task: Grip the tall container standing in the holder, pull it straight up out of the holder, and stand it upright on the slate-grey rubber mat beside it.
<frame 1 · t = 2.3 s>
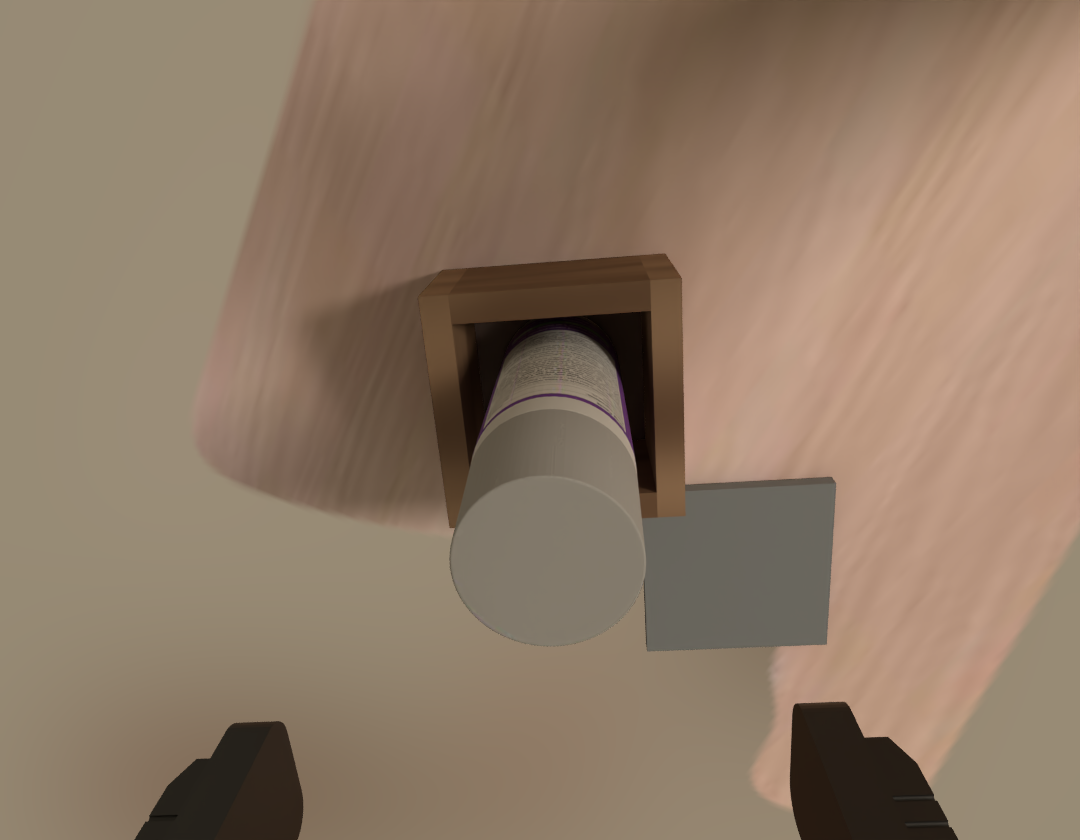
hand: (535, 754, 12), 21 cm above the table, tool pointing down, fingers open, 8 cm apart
holder: (560, 368, 31), on the table
mat: (734, 564, 34), on the table
container: (560, 367, 32), resting in holder
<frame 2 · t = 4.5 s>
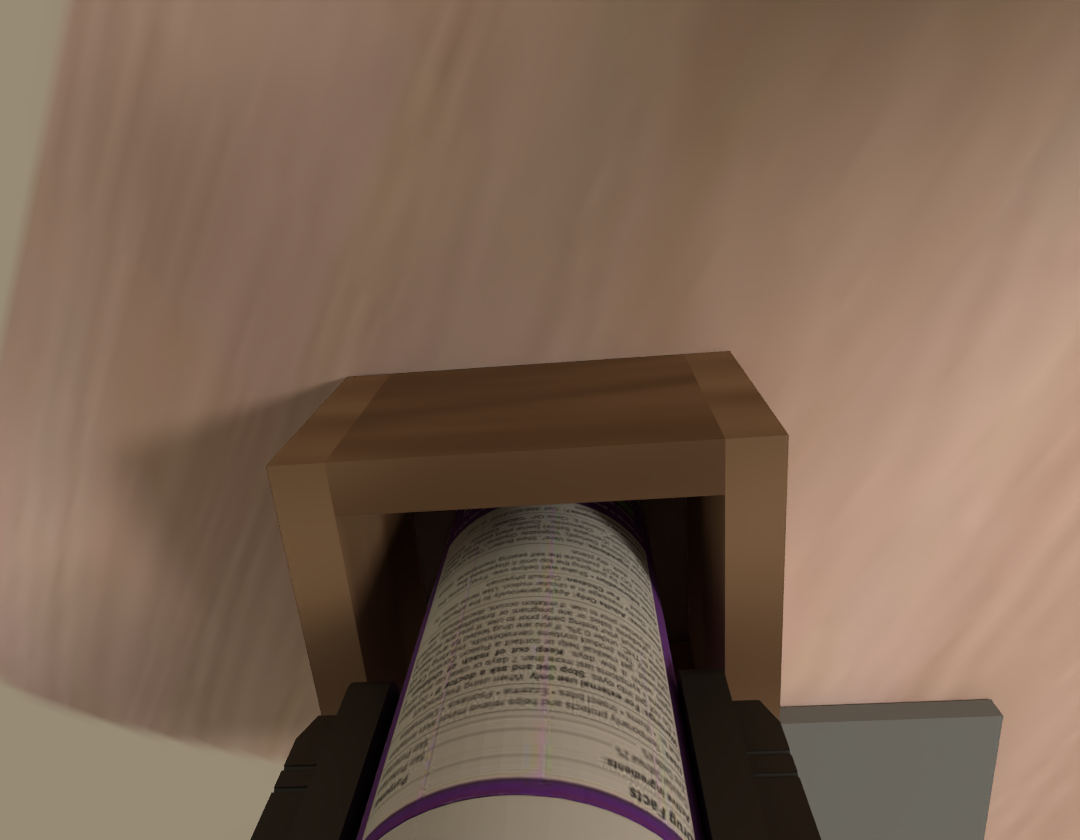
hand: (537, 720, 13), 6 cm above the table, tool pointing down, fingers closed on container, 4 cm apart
holder: (550, 533, 19), on the table
mat: (825, 820, 22), on the table
container: (550, 529, 19), resting in holder, touching gripper
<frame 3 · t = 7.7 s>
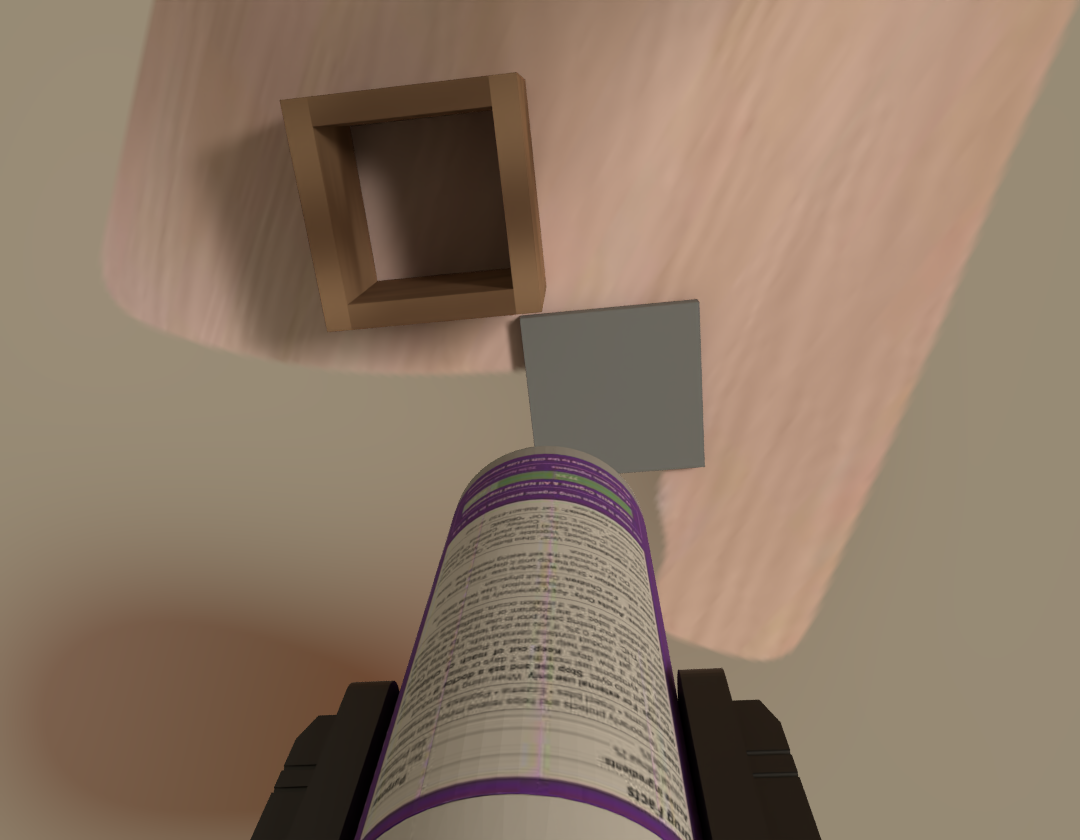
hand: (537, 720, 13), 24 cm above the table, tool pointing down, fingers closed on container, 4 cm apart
holder: (438, 198, 34), on the table
mat: (614, 390, 37), on the table
container: (549, 529, 19), point 18 cm above the table, touching gripper
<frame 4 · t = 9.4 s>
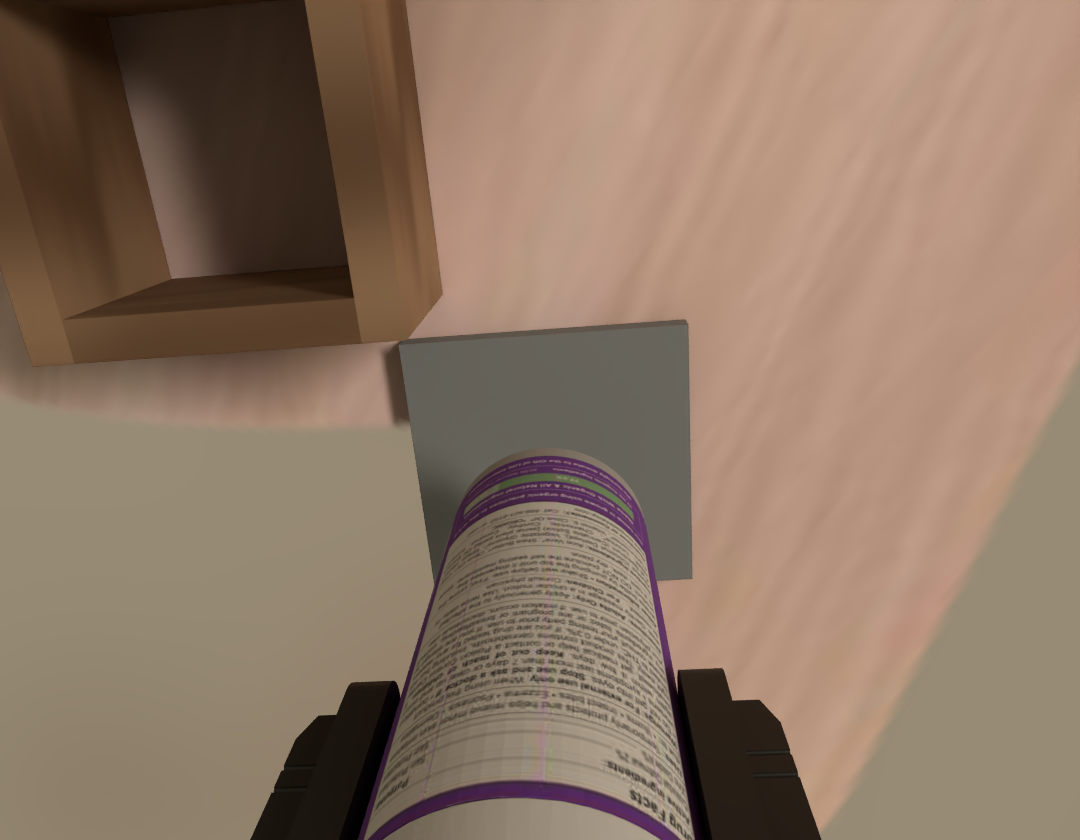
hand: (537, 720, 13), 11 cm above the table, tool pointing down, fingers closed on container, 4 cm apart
holder: (260, 144, 20), on the table
mat: (553, 459, 23), on the table
container: (550, 531, 19), point 4 cm above the table, touching gripper
when the fingers open (8 cm above the table, at t = 10.8 s): container drops 1 cm, resting on mat.
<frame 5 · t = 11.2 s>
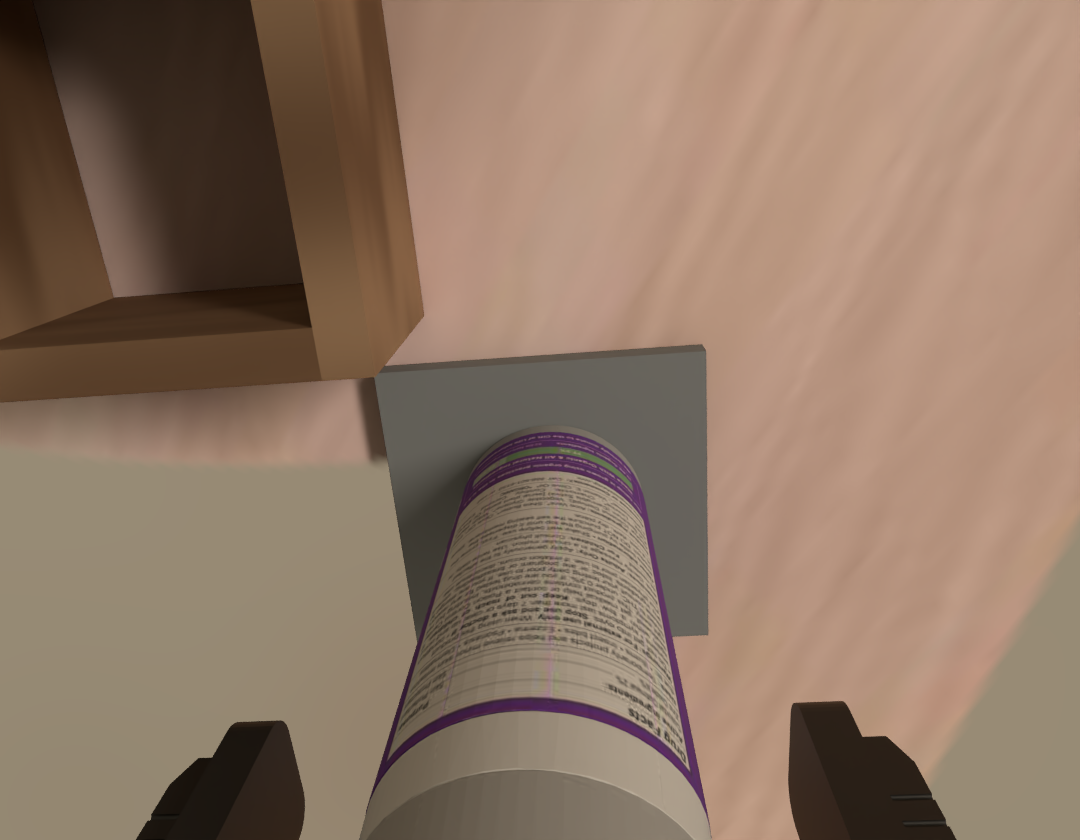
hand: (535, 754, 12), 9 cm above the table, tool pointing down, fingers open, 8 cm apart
holder: (213, 144, 18), on the table
mat: (550, 501, 21), on the table
container: (553, 505, 20), resting on mat
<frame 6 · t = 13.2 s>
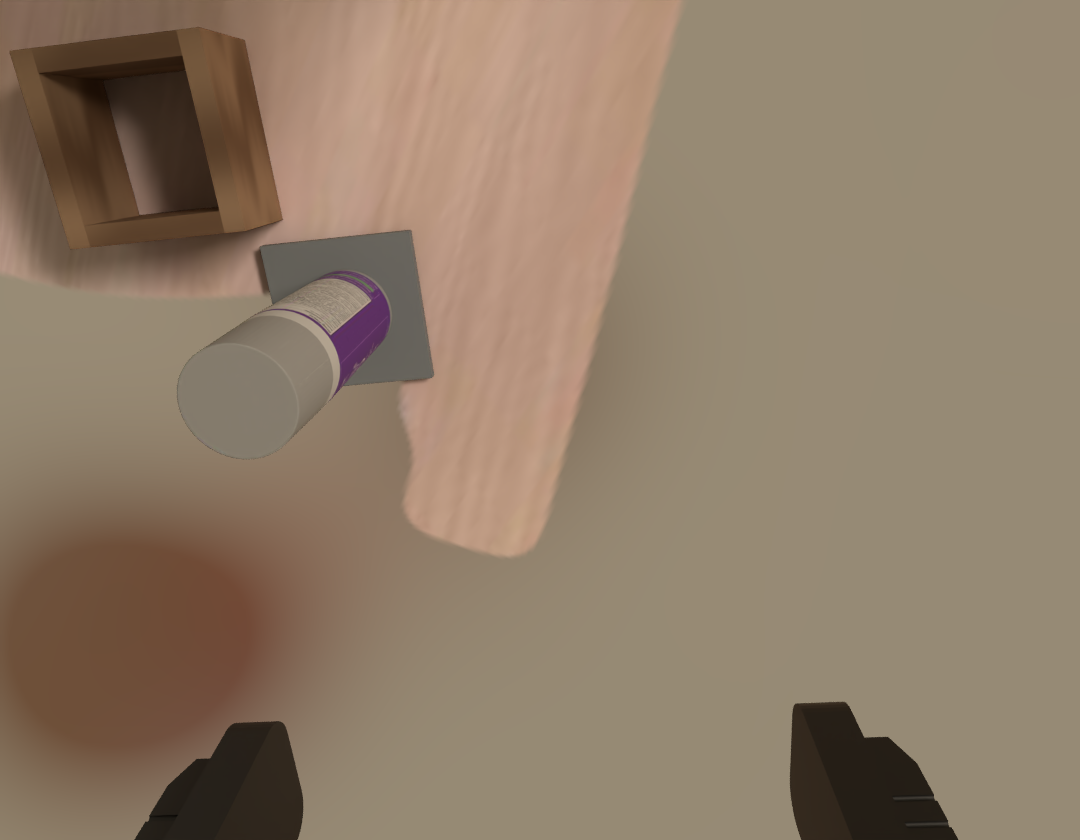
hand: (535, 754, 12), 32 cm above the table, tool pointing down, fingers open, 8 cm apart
holder: (183, 142, 40), on the table
mat: (351, 311, 43), on the table
container: (350, 311, 42), resting on mat
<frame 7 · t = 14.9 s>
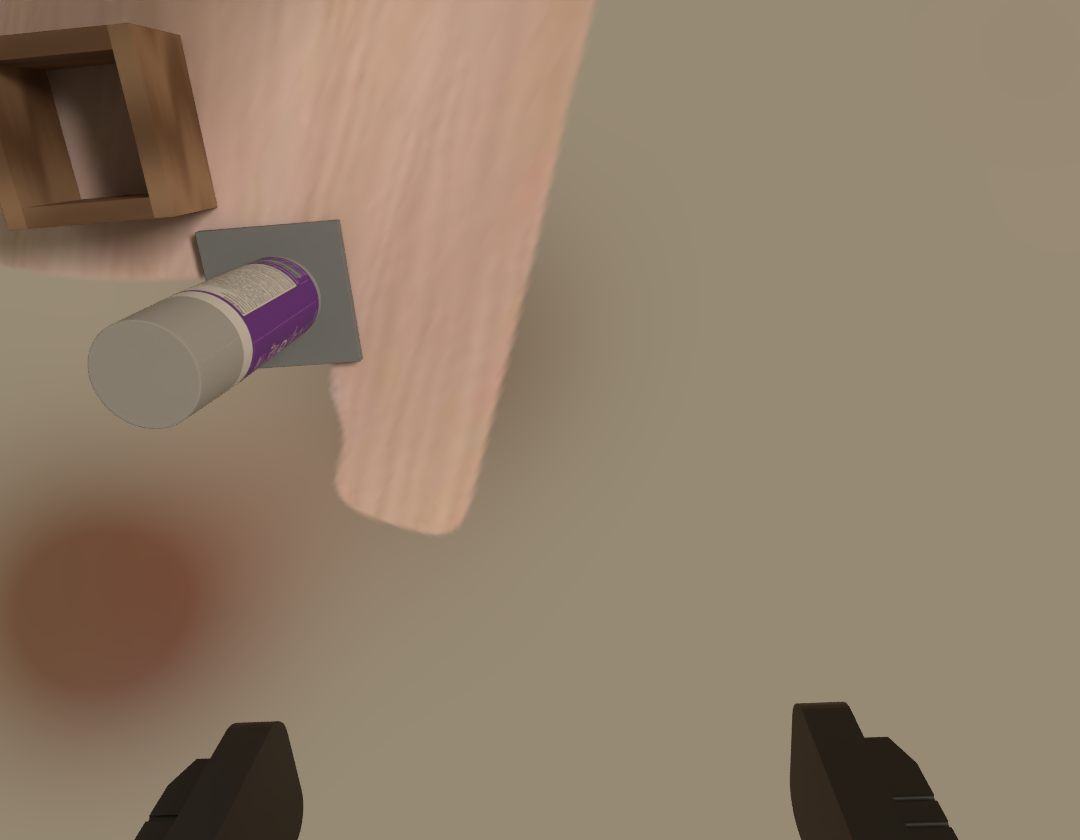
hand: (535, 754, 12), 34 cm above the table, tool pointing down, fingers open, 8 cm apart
holder: (122, 131, 42), on the table
mat: (283, 296, 45), on the table
container: (282, 296, 44), resting on mat
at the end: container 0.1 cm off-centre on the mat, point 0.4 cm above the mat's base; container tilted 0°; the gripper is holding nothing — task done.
